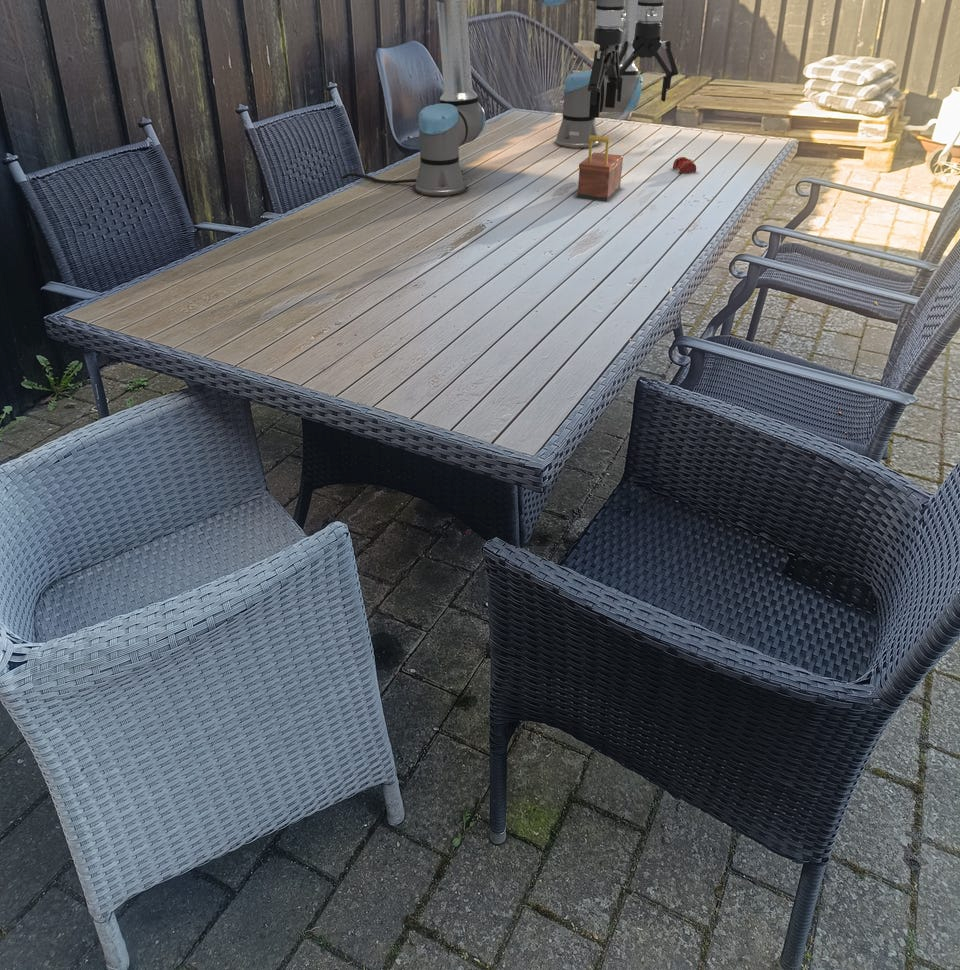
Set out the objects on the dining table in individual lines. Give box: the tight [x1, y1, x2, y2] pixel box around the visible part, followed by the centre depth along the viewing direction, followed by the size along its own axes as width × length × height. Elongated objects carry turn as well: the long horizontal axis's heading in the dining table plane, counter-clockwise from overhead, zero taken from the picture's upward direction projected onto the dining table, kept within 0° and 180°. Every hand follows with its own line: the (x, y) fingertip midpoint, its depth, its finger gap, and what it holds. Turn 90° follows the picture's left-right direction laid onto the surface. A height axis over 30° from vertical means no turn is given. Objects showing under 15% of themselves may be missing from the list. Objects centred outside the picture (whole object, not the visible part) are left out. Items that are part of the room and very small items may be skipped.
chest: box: [577, 159, 624, 202], centre depth 253 cm, size 14×9×9 cm
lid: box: [578, 135, 624, 171], centre depth 248 cm, size 14×9×8 cm, turn 156°
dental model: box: [672, 156, 697, 174], centre depth 274 cm, size 6×4×8 cm
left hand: (602, 112), depth 238 cm, fingers open, 13 cm apart
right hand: (640, 100), depth 257 cm, fingers open, 13 cm apart
